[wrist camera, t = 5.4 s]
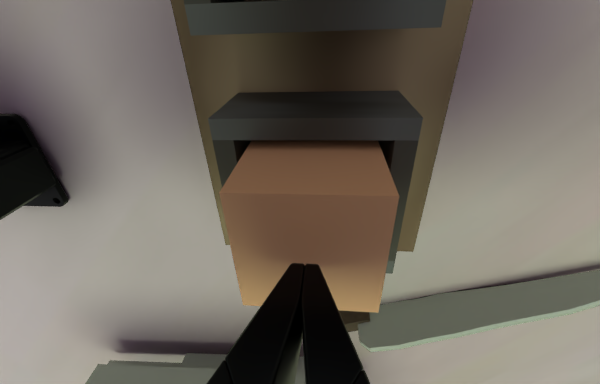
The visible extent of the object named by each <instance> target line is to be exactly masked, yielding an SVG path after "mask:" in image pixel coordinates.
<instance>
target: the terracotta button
mask: <svg viewBox="0 0 600 384" xmlns="http://www.w3.org/2000/svg"><path fill="white" fill-rule="evenodd" d="M219 194H220V199H221V204H222V208H223V213H224V218H225V222H226V227H227V232H228V236H229V241H230V246H231V250H232V255H233V260H234V264H235V269H236V274H237V278H238V283H239V288H240V292H241V297H242V302H243V305H251V306H261V305H262V304H263V303H264V301H265V300H266V298H267V297H268V295H269V294H270V293H271V291H272V290H273V288H274V287H275V285H276V284H277V283H278V281H279V280H280V278H281V277H282V275H283V274H284V273H285V271H286V270H287V268H288V267H289V265H290V264H291V263H303V264H304V265H305V264H307V263H309V264H318V265H319V266H320V268H321V271H322V273H323V275H324V278H325V280H326V282H327V285H328V287H329V289H330V292H331V294H332V296H333V299H334V301H335V303H336V306H337V308H338V310H340V311H358V312H376V313H378V312H379V307H380V301H381V296H382V290H383V284H384V279H385V273H386V268H387V262H388V257H389V251H390V245H391V240H392V234H393V229H394V223H395V218H396V212H397V206H398V201H399V194H398V191H397V189H396V186H395V184H394V181H393V178H392V176H391V173H390V171H389V168H388V165H387V163H386V160H385V158H384V155H383V152H382V150H381V147H380V145H379V142H378V141H363V140H251V142H250V144H249V145H248V147H247V148H246V150H245V152H244V153H243V155H242V157H241V158H240V160H239V161H238V163H237V165H236V166H235V168H234V169H233V171H232V173H231V174H230V176H229V178H228V179H227V181H226V182H225V184H224V186H223V187H222V189H221V191H220V192H219Z"/></svg>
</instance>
